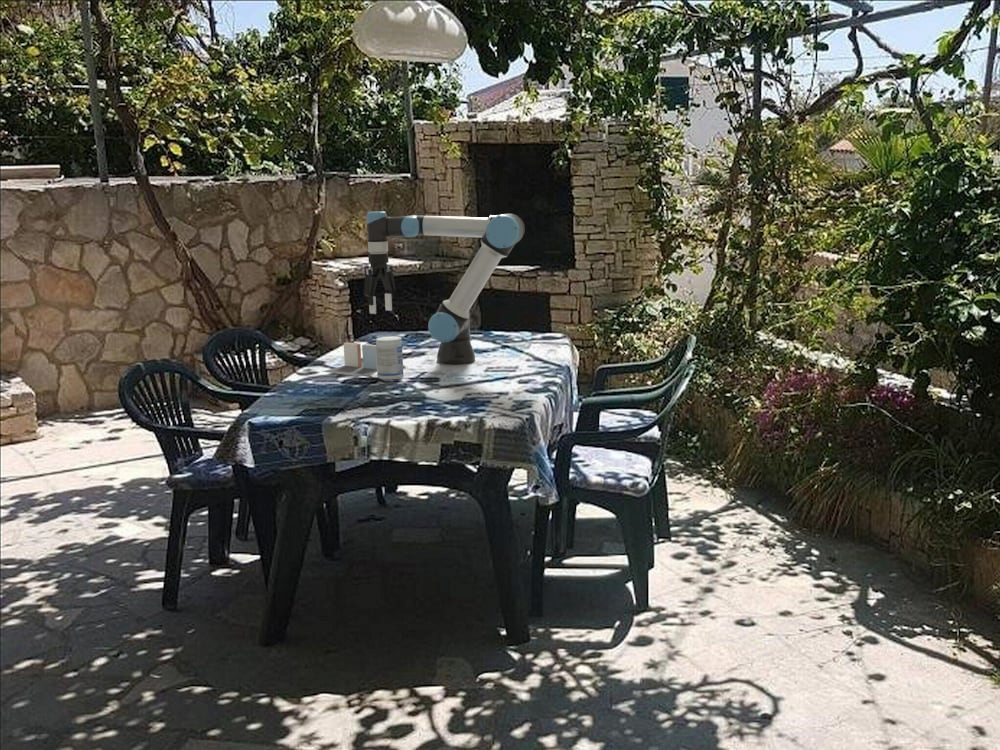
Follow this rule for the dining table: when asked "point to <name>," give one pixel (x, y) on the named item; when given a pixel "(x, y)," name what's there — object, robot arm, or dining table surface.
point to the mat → (350, 370)
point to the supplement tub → (389, 358)
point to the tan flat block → (352, 354)
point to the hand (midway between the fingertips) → (380, 311)
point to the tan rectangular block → (369, 356)
